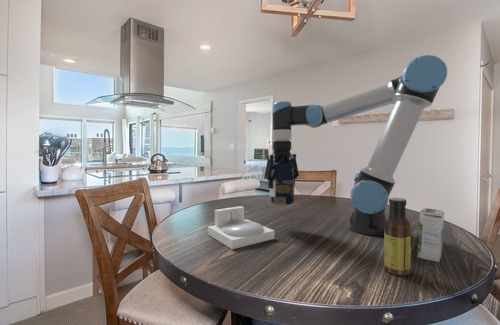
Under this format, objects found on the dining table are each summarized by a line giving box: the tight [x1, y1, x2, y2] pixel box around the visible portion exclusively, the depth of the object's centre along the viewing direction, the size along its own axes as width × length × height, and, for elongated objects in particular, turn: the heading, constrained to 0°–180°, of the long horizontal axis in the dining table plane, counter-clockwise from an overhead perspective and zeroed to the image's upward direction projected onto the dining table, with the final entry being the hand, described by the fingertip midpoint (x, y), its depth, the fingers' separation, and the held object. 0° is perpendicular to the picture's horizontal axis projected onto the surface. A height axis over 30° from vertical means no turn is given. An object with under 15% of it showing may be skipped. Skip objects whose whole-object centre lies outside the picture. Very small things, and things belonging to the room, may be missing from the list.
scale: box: [207, 205, 276, 250], centre depth 99 cm, size 18×18×9 cm
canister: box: [270, 162, 295, 206], centre depth 109 cm, size 10×10×18 cm
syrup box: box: [416, 207, 445, 263], centre depth 81 cm, size 6×6×14 cm
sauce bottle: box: [383, 197, 412, 276], centre depth 71 cm, size 6×6×20 cm
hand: (282, 195), depth 109 cm, fingers closed on canister, 9 cm apart
